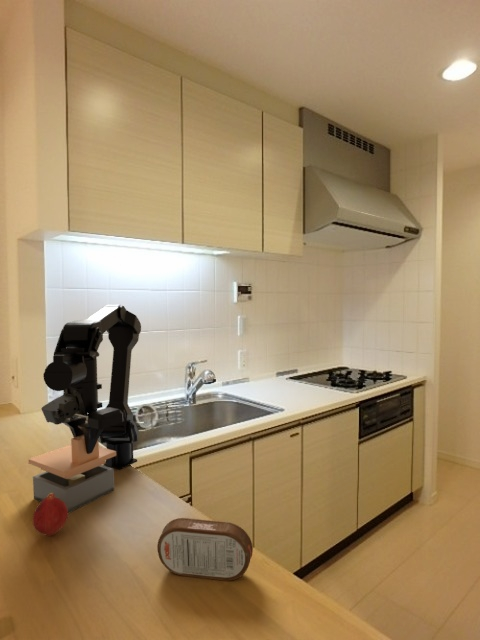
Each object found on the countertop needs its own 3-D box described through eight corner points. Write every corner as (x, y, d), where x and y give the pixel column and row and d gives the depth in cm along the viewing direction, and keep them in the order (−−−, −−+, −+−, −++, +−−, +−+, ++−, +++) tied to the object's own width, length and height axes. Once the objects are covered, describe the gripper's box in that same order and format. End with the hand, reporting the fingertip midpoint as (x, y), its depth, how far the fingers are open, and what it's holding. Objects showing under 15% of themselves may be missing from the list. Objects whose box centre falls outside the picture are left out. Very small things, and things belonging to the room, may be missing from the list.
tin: (253, 573, 64) (252, 521, 63) (250, 587, 61) (249, 532, 60) (162, 563, 66) (161, 513, 66) (155, 576, 63) (154, 524, 63)
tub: (81, 478, 98) (81, 458, 98) (114, 490, 92) (113, 469, 92) (33, 498, 88) (32, 476, 88) (66, 514, 82) (65, 490, 82)
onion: (33, 548, 71) (32, 504, 70) (33, 531, 76) (32, 490, 75) (69, 539, 73) (68, 496, 73) (67, 523, 78) (65, 483, 78)
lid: (81, 451, 99) (80, 421, 98) (116, 462, 92) (115, 429, 91) (28, 470, 88) (27, 436, 87) (64, 484, 81) (62, 447, 80)
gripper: (22, 382, 85) (25, 455, 85) (76, 393, 74) (79, 475, 75) (70, 374, 94) (72, 440, 95) (123, 382, 84) (126, 456, 84)
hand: (85, 452), depth 87 cm, fingers closed on lid, 2 cm apart
